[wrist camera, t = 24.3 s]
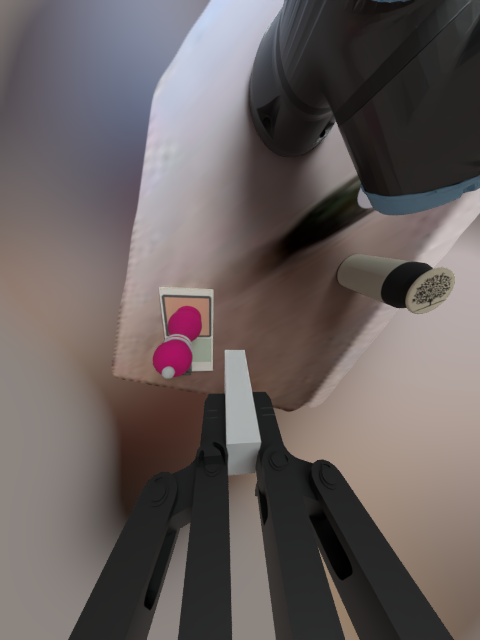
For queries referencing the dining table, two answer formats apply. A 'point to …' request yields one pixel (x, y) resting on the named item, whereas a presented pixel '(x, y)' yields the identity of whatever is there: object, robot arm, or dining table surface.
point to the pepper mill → (178, 343)
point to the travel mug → (397, 281)
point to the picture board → (204, 304)
